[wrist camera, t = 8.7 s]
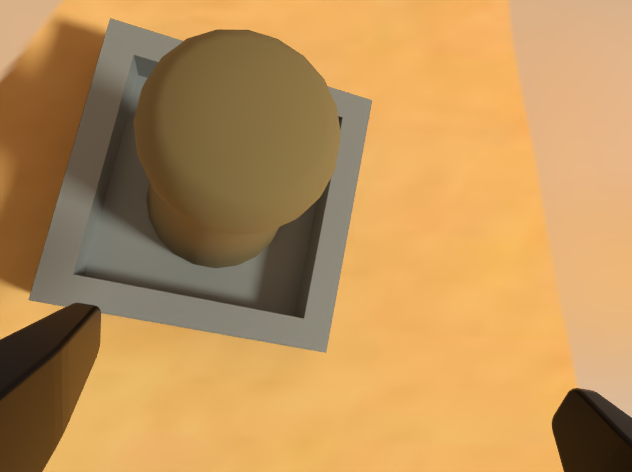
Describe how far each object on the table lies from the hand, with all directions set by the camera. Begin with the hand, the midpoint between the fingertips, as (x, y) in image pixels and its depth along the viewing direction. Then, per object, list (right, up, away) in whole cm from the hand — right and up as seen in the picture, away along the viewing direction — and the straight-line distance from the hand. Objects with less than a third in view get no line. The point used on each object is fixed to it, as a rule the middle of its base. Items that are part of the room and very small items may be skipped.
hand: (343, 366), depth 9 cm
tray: (-5, +4, +13) cm, 15 cm away
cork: (-5, +4, +13) cm, 14 cm away
